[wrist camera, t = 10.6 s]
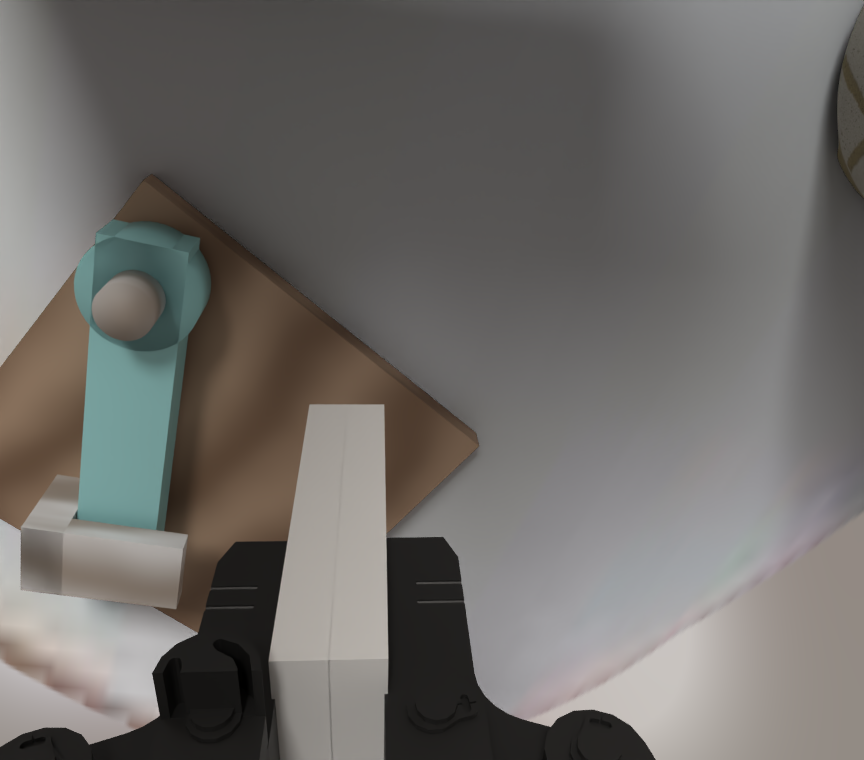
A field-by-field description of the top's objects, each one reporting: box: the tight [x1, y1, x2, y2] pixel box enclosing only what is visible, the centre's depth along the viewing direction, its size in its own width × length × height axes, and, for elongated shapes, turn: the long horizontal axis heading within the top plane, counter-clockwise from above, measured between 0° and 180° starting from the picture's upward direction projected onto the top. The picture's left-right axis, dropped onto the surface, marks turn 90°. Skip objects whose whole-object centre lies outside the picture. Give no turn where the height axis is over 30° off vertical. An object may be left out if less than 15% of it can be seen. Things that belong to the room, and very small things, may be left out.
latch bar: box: [74, 219, 211, 531], centre depth 39 cm, size 20×6×2 cm, turn 166°
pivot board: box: [0, 174, 479, 632], centre depth 41 cm, size 22×21×7 cm
